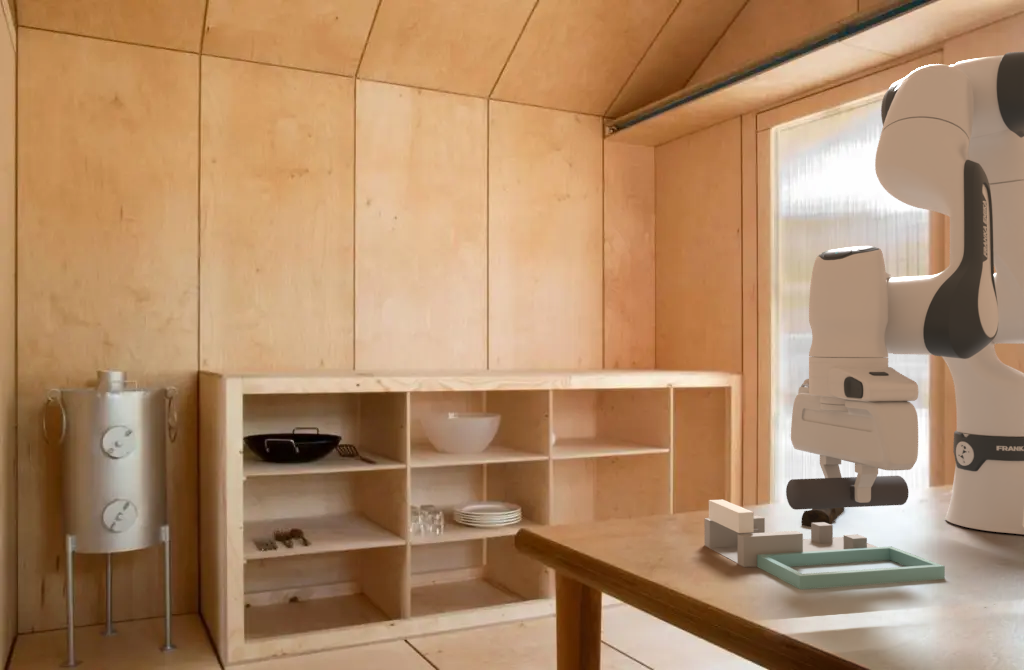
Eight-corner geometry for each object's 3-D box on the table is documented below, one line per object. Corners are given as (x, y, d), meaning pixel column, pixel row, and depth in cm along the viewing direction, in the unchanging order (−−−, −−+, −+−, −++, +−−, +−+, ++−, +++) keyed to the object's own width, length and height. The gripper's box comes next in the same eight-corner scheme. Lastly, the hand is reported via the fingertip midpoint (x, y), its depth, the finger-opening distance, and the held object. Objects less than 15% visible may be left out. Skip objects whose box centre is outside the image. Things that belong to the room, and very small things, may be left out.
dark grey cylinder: (889, 502, 105) (889, 473, 105) (908, 507, 102) (908, 478, 102) (786, 506, 102) (786, 477, 102) (802, 512, 99) (802, 481, 99)
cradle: (849, 545, 120) (849, 510, 120) (901, 565, 109) (901, 527, 109) (704, 554, 115) (704, 518, 115) (743, 576, 105) (743, 537, 105)
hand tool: (828, 538, 125) (828, 506, 125) (800, 534, 127) (800, 503, 127) (858, 516, 141) (858, 488, 141) (832, 513, 143) (833, 485, 143)
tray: (891, 566, 109) (891, 546, 109) (944, 588, 100) (944, 566, 100) (757, 575, 105) (757, 554, 105) (800, 599, 95) (799, 576, 95)
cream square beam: (722, 518, 115) (722, 499, 115) (753, 532, 106) (753, 512, 106) (708, 518, 114) (708, 500, 114) (738, 533, 106) (738, 512, 106)
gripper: (778, 377, 112) (778, 484, 112) (878, 386, 92) (877, 515, 92) (822, 377, 113) (821, 482, 113) (929, 385, 93) (929, 513, 93)
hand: (847, 497), depth 102 cm, fingers closed on dark grey cylinder, 3 cm apart
